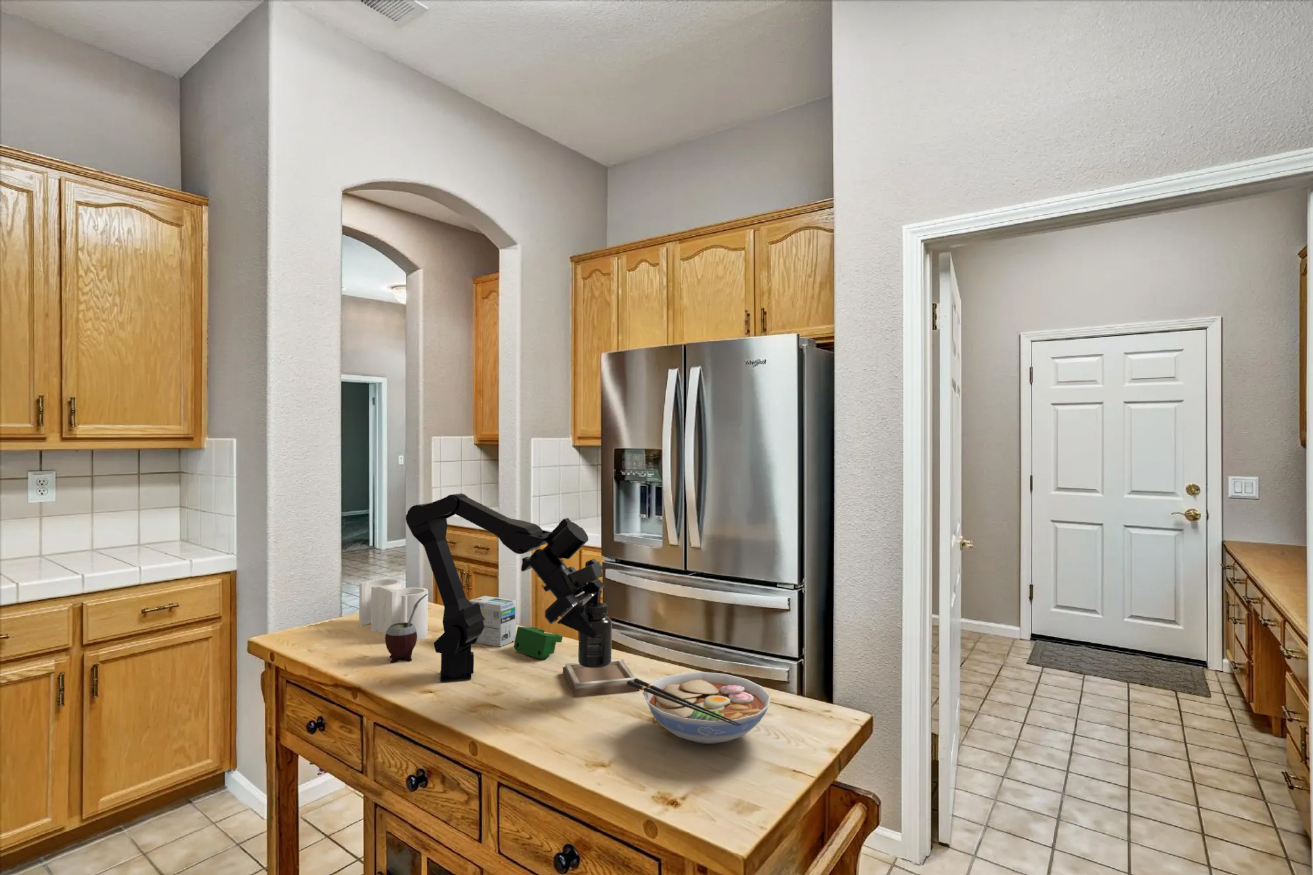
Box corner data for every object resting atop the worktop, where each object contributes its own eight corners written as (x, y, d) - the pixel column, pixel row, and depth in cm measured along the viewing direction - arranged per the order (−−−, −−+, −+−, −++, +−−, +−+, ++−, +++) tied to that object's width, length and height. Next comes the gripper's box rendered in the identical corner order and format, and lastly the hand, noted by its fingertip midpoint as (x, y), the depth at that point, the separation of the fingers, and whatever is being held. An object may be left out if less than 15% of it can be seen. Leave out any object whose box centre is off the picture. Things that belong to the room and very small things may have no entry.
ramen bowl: (801, 739, 116) (802, 693, 116) (717, 784, 100) (718, 731, 100) (697, 697, 134) (697, 658, 134) (612, 731, 118) (612, 685, 118)
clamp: (552, 672, 159) (568, 641, 159) (533, 672, 155) (550, 640, 154) (528, 643, 167) (543, 612, 167) (509, 642, 163) (525, 611, 162)
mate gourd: (378, 661, 152) (379, 597, 152) (402, 651, 160) (403, 590, 160) (403, 666, 150) (404, 600, 150) (427, 655, 157) (428, 593, 157)
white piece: (436, 636, 173) (437, 590, 173) (401, 644, 165) (402, 597, 165) (390, 618, 189) (390, 576, 189) (356, 625, 182) (357, 581, 182)
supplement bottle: (617, 661, 136) (619, 603, 136) (599, 671, 130) (600, 610, 130) (590, 655, 139) (592, 599, 139) (571, 664, 133) (572, 605, 133)
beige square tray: (573, 697, 133) (573, 685, 133) (562, 673, 147) (562, 663, 147) (639, 690, 137) (639, 679, 137) (623, 668, 151) (623, 658, 151)
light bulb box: (517, 640, 170) (517, 599, 170) (500, 647, 164) (501, 604, 164) (484, 634, 175) (485, 594, 175) (467, 641, 169) (468, 599, 169)
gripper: (561, 555, 127) (612, 618, 124) (596, 541, 145) (642, 596, 141) (523, 592, 129) (573, 655, 126) (563, 574, 147) (607, 628, 144)
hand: (601, 631), depth 134 cm, fingers closed on supplement bottle, 7 cm apart
